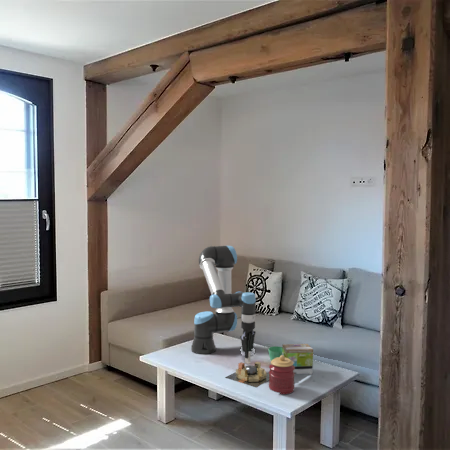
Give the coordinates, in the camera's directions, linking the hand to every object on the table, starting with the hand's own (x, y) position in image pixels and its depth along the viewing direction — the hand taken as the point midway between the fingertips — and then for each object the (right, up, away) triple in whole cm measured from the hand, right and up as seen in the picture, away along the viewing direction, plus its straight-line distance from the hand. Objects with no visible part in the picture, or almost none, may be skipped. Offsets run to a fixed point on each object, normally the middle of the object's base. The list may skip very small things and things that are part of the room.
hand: (247, 363), depth 268 cm
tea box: (+27, -6, +1) cm, 28 cm away
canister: (+16, -7, -22) cm, 28 cm away
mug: (+19, -5, +11) cm, 22 cm away
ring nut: (+1, -5, -8) cm, 10 cm away
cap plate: (+1, -6, -8) cm, 10 cm away
